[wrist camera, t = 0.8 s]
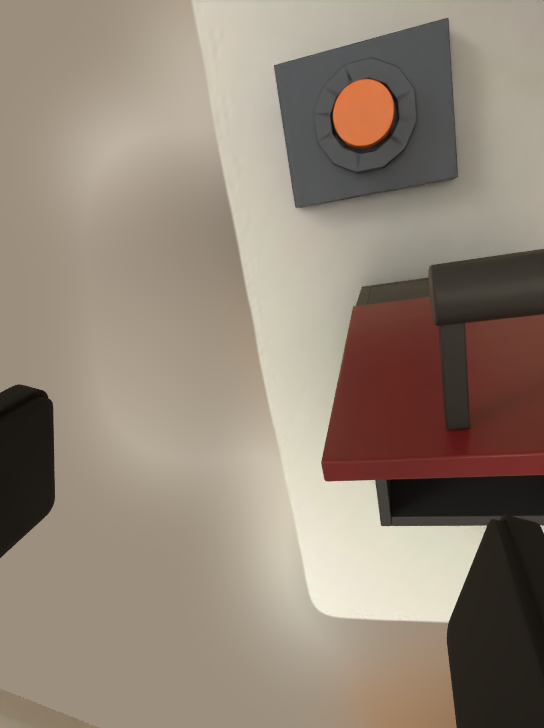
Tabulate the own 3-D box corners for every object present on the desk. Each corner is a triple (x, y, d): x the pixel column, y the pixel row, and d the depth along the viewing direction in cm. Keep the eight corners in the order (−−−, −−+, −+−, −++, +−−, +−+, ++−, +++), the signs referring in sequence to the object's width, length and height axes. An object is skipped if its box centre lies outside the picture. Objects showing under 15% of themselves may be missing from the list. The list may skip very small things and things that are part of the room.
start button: (391, 78, 32) (391, 71, 30) (396, 142, 33) (397, 139, 31) (331, 92, 33) (328, 87, 31) (339, 154, 34) (337, 151, 33)
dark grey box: (543, 455, 41) (586, 525, 32) (382, 461, 45) (381, 526, 36) (540, 262, 37) (589, 281, 28) (361, 286, 40) (353, 310, 31)
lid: (871, 466, 12) (951, 210, 10) (324, 482, 15) (291, 300, 13) (592, 289, 27) (598, 176, 25) (354, 317, 31) (341, 222, 29)
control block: (444, 28, 33) (451, 6, 30) (454, 178, 36) (461, 175, 32) (280, 73, 37) (268, 58, 33) (300, 207, 39) (290, 208, 36)
